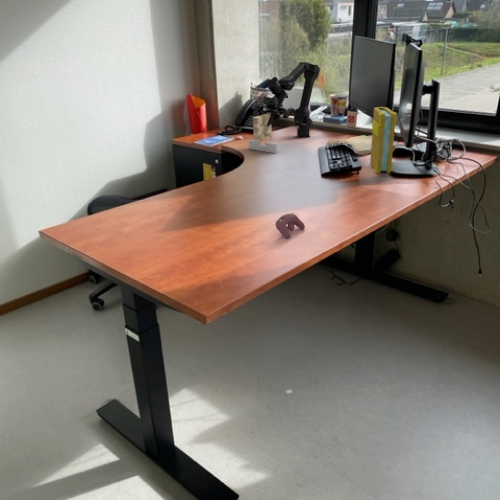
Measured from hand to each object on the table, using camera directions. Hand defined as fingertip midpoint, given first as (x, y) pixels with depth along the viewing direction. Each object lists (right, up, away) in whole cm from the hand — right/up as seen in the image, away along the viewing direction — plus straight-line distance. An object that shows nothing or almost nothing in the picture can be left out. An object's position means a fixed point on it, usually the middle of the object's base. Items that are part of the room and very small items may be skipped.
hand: (265, 125), depth 246 cm
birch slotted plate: (-1, -7, +1) cm, 7 cm away
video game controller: (+5, -59, -91) cm, 109 cm away
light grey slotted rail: (-1, -12, +4) cm, 13 cm away
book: (+50, -27, -32) cm, 65 cm away
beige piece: (+46, -13, 0) cm, 48 cm away
